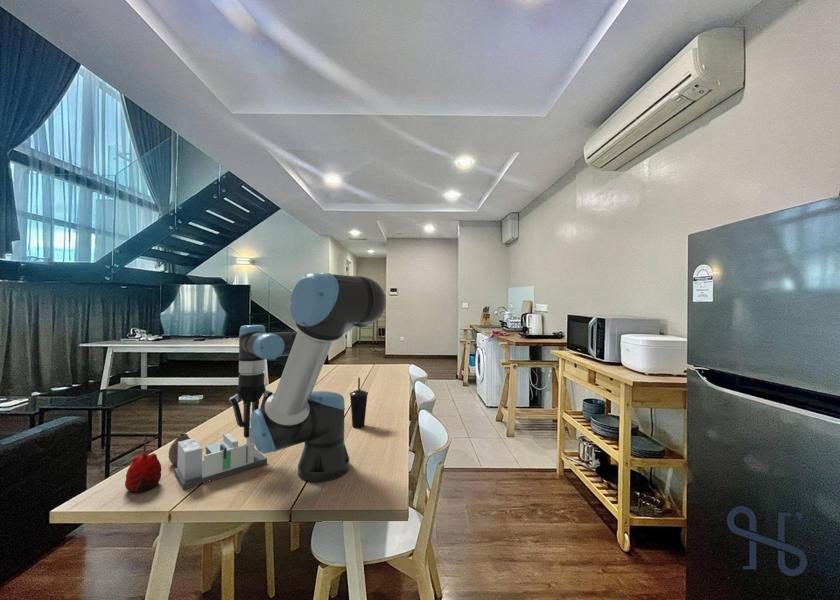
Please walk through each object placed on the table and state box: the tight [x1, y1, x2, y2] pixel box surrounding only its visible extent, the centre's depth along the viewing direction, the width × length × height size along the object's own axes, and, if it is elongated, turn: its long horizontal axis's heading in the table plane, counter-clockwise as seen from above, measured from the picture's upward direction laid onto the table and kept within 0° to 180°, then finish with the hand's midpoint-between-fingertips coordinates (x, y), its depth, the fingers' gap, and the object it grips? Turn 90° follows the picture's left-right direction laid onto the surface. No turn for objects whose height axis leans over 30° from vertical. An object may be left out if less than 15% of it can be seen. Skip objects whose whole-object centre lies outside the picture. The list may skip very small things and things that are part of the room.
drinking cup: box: [349, 377, 369, 429], centre depth 140 cm, size 8×8×20 cm
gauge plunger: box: [205, 432, 239, 459], centre depth 102 cm, size 12×7×7 cm, turn 45°
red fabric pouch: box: [124, 434, 162, 494], centre depth 92 cm, size 8×7×15 cm
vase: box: [168, 433, 192, 466], centre depth 106 cm, size 7×7×9 cm
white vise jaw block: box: [176, 437, 203, 482], centre depth 97 cm, size 10×4×8 cm, turn 45°
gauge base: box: [174, 443, 268, 490], centre depth 103 cm, size 12×22×8 cm, turn 135°
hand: (250, 446), depth 109 cm, fingers closed
